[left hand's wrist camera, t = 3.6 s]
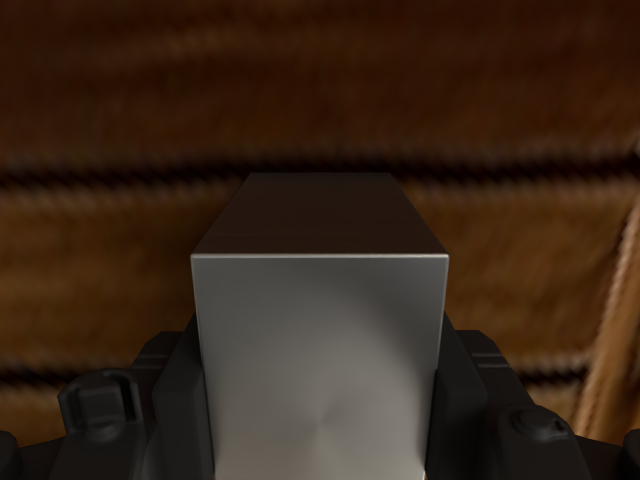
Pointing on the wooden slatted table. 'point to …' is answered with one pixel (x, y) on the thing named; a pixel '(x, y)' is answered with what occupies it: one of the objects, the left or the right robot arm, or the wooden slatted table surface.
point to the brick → (319, 329)
